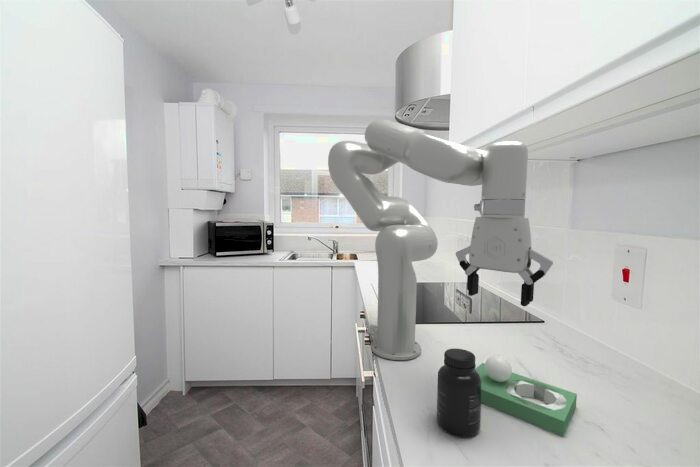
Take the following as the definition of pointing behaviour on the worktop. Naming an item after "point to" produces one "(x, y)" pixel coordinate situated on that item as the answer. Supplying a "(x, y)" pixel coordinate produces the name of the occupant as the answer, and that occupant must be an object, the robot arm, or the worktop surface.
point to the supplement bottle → (459, 394)
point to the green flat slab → (511, 401)
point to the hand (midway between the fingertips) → (497, 299)
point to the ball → (498, 368)
